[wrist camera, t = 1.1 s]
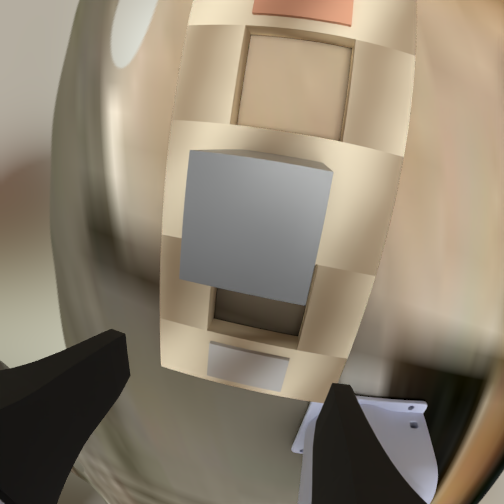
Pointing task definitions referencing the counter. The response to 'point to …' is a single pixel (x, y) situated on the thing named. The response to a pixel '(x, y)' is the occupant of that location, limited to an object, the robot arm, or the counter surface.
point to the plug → (253, 222)
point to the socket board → (299, 146)
